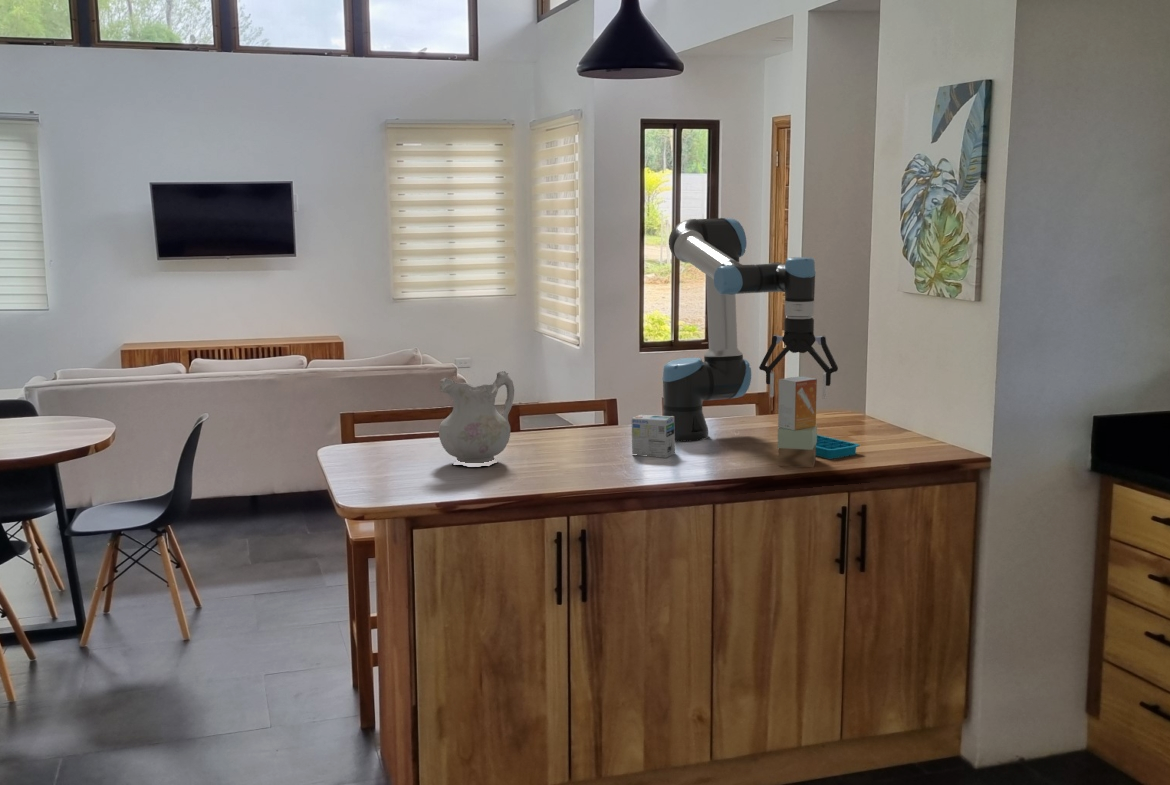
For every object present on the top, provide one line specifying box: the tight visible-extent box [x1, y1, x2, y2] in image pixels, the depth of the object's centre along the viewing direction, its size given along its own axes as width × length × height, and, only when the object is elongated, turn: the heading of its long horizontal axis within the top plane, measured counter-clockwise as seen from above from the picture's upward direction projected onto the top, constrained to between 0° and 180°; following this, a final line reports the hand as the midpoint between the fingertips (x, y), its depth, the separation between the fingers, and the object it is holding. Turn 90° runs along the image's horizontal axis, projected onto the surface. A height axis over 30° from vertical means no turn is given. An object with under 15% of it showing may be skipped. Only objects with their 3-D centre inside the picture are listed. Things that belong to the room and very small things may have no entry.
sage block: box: [777, 424, 818, 450], centre depth 287 cm, size 9×9×5 cm
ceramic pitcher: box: [438, 370, 515, 463], centre depth 295 cm, size 22×20×25 cm
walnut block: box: [778, 445, 817, 468], centre depth 288 cm, size 9×9×5 cm
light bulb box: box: [631, 414, 676, 458], centre depth 302 cm, size 11×7×11 cm, turn 65°
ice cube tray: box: [816, 434, 860, 460], centre depth 302 cm, size 12×20×3 cm, turn 31°
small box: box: [777, 376, 818, 430], centre depth 286 cm, size 8×6×13 cm
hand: (797, 397), depth 286 cm, fingers open, 13 cm apart
